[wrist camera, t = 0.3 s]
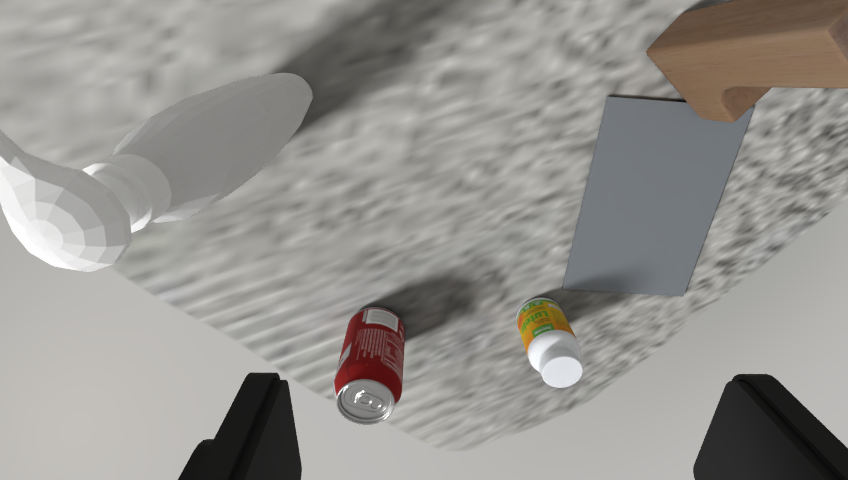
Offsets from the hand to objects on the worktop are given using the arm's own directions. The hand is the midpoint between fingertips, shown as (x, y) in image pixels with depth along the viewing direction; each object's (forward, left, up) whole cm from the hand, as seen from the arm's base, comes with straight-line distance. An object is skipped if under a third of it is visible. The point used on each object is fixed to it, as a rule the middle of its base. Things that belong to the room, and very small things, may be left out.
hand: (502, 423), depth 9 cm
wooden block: (-7, +23, -36) cm, 43 cm away
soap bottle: (0, -17, -36) cm, 40 cm away
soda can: (+24, -5, -36) cm, 44 cm away
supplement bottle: (+21, +14, -36) cm, 44 cm away
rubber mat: (+7, +23, -36) cm, 43 cm away
